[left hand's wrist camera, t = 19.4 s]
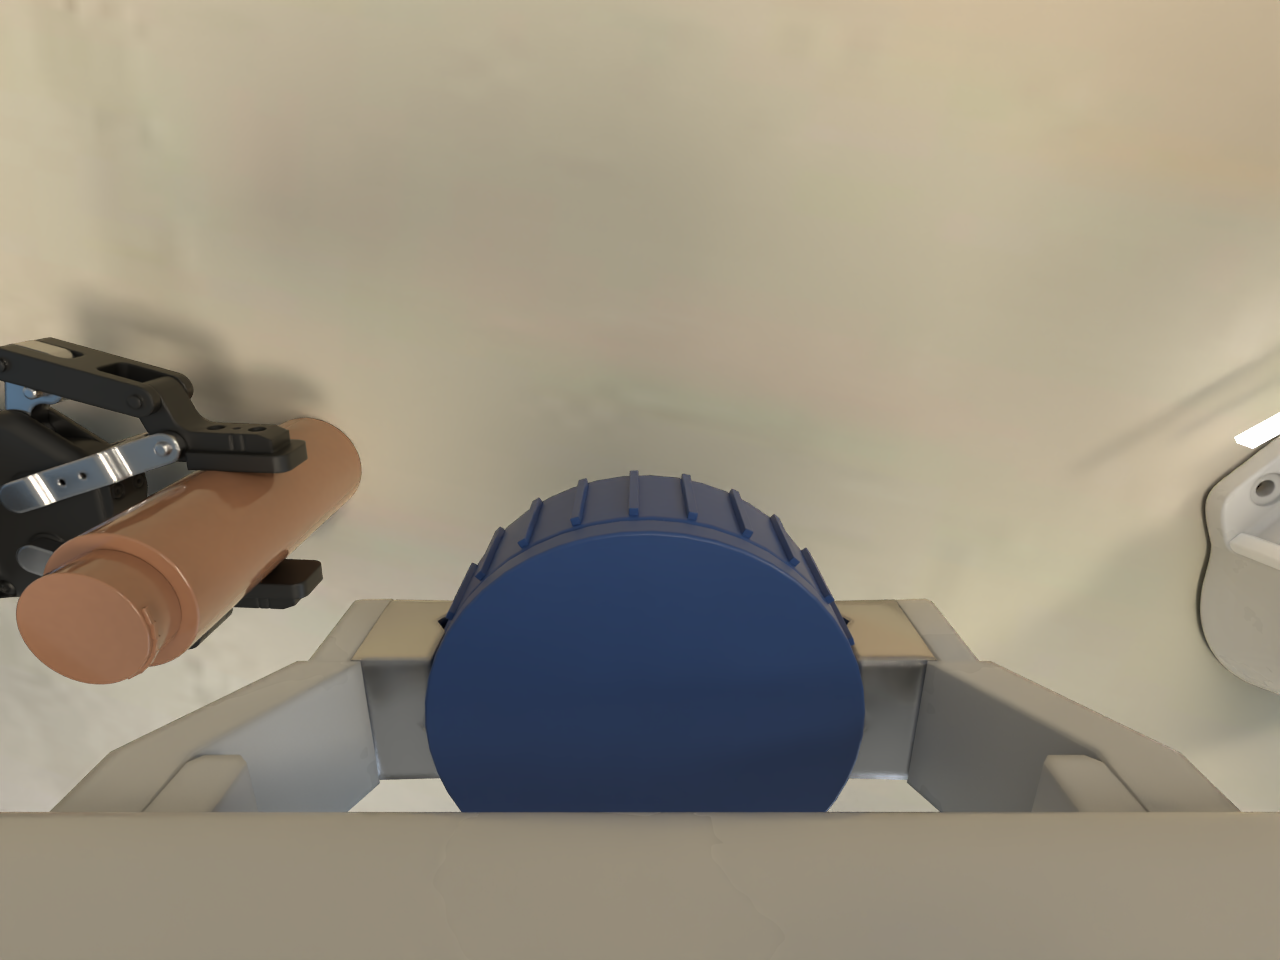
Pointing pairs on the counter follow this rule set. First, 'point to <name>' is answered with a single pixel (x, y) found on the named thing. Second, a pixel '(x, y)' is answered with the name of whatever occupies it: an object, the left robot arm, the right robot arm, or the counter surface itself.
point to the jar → (179, 561)
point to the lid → (644, 661)
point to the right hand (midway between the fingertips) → (304, 519)
